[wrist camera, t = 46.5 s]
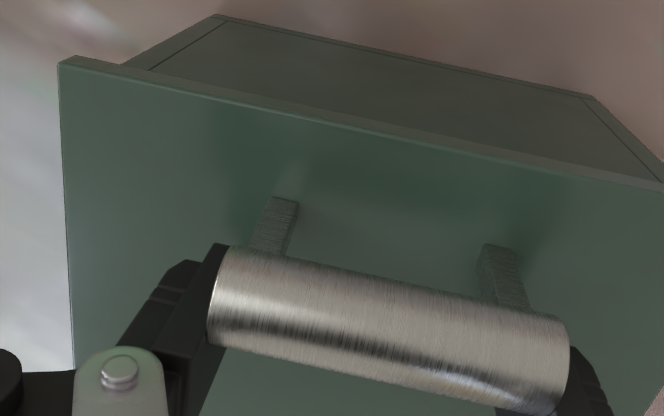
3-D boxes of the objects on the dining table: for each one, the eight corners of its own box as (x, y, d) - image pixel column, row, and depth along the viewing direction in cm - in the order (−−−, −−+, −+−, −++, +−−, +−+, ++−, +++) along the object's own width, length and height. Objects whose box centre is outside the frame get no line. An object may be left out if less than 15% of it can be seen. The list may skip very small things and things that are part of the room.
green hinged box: (213, 13, 22) (75, 87, 13) (593, 95, 22) (736, 231, 13) (189, 324, 30) (92, 511, 21) (468, 386, 30) (498, 603, 21)
